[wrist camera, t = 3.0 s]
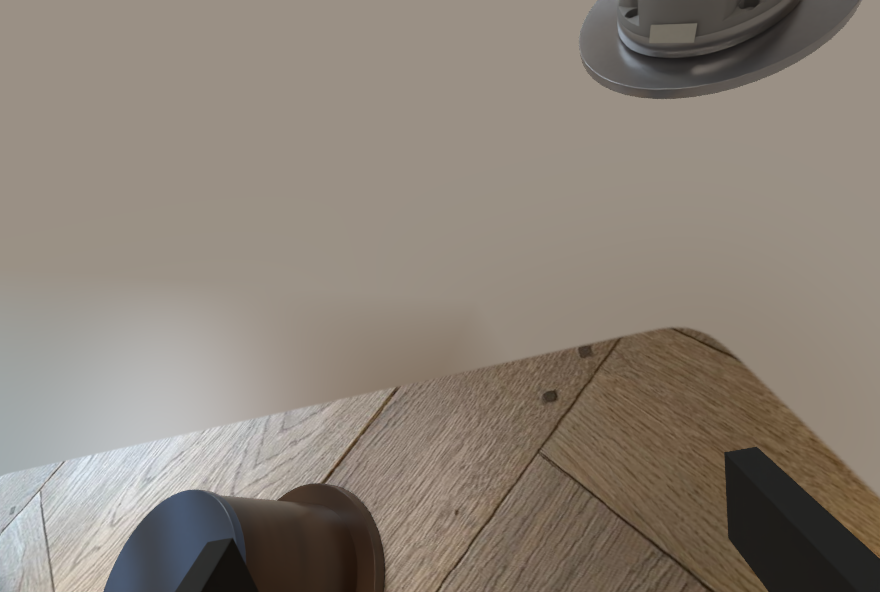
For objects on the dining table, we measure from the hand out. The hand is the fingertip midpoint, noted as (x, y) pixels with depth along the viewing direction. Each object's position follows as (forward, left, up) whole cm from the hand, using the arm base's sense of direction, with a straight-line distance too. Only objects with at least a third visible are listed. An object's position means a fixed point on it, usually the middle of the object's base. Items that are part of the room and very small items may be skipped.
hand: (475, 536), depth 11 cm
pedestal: (+14, -15, -19) cm, 28 cm away
